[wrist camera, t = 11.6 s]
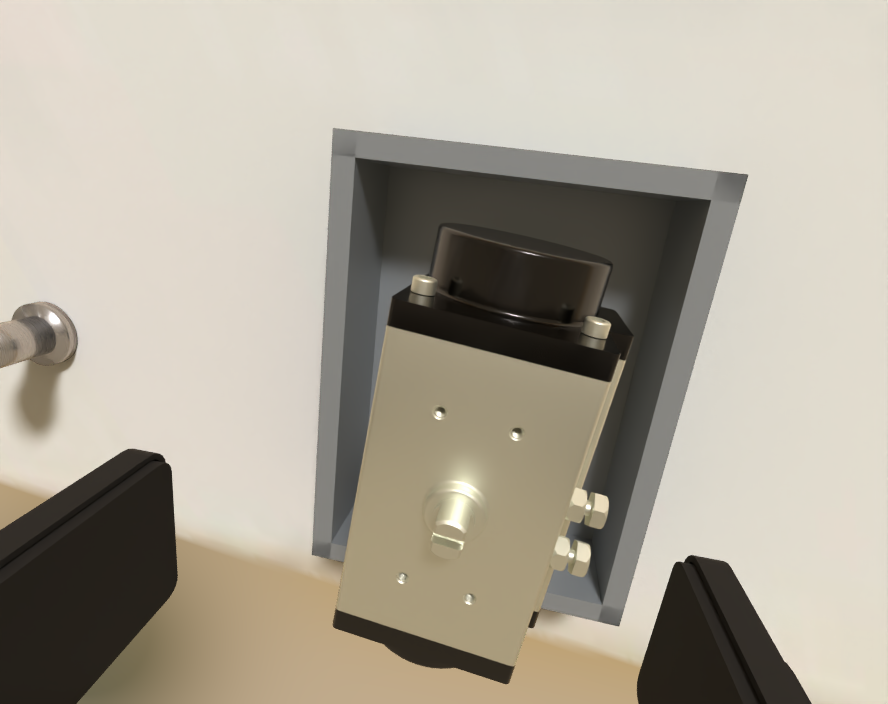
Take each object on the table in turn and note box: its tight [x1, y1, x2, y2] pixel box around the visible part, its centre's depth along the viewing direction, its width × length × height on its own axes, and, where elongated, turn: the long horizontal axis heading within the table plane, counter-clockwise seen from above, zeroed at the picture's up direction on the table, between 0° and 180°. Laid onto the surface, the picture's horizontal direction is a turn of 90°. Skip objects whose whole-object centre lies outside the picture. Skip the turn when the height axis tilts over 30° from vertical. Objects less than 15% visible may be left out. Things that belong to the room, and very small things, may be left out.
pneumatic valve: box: [333, 223, 634, 684], centre depth 16 cm, size 6×12×12 cm, turn 168°
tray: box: [312, 128, 748, 626], centre depth 20 cm, size 13×17×5 cm
